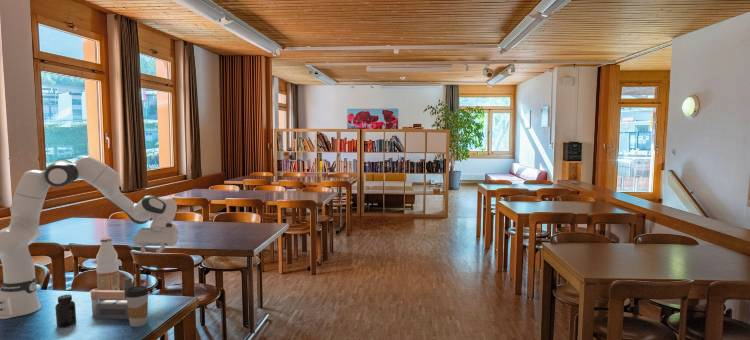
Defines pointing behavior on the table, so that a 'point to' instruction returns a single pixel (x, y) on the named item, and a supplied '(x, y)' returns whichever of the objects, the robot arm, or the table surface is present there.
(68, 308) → the supplement bottle
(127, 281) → the swing arm
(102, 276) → the fruit juice
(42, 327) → the table surface
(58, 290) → the table surface
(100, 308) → the box
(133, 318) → the coffee cup
